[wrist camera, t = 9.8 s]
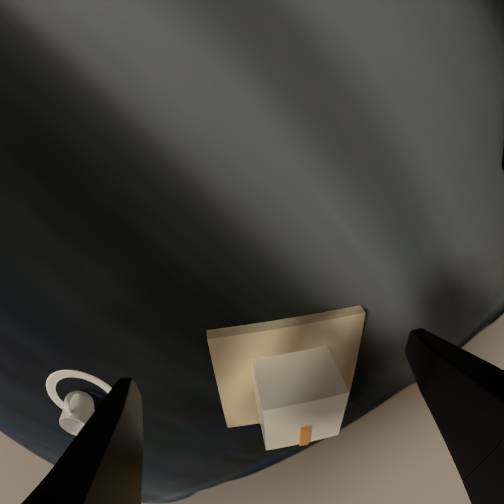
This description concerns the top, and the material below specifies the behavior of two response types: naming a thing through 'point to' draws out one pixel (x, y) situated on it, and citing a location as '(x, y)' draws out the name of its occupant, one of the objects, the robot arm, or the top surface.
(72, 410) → the white ring with cylinder
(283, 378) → the small white box
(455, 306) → the top surface
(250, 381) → the board
